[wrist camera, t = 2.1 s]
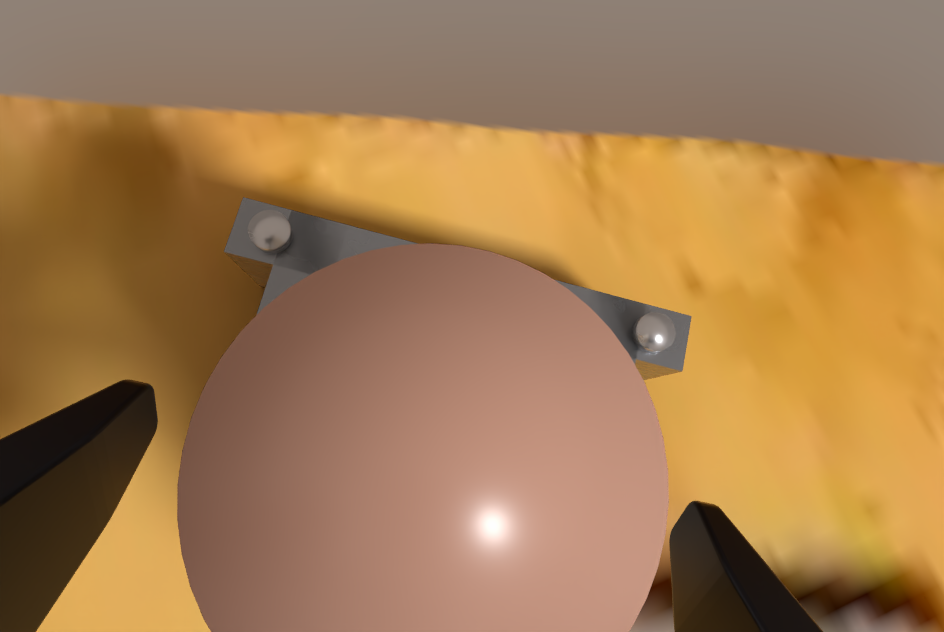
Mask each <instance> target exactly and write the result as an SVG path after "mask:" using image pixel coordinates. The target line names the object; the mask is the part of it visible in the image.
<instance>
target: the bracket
mask: <svg viewBox="0 0 944 632" xmlns="http://www.w3.org/2000/svg"><path fill="white" fill-rule="evenodd" d="M409 244H417V243H414V242H410V241H406V240H402V239H399V238H395V237H391V236H387V235H384V234H380V233H376V232H372V231H368V230H365V229H361V228H357V227H353V226H350V225H346V224H342V223H338V222H335V221H331V220H327V219H323V218H320V217H316V216H312V215H308V214H304V213H301V212H297V211H293V210H289V209H286V208H282V207H278V206H274V205H271V204H267V203H263V202H259V201H255V200H252V199H248V198H244V197H243V200H242V202H241V205H240V208H239V211H238V214H237V216H236V219H235V222H234V225H233V228H232V231H231V233H230V236H229V239H228V242H227V245H226V247H225V250H224V252H225V253H226V254H227V255H228V256H229V257H230V258H231V259H232V260H233V261H234V262H235V263H236V264H237V265H238V266H240V267H241V268H242V269H243V270H244V271H245V272H246V273H247V274H248V275H249V276H250V277H251V278H252V279H253V280H254V281H255V282H256V283H258V284H259V285H260V286H261V287H265V291H264V294H263V297H262V300H261V303H260V306H259V309H258V312H257V314H258V313H259V312H260V311H261V310H262V309H263V308H264V307H265V306H267V305H268V304H269V303H270V302H272V301H273V300H274V299H275V298H277V297H278V296H279V295H280V294H282V293H283V292H284V291H285V290H287V289H288V288H289V287H291V286H293V285H294V284H296V283H298V282H299V281H301V280H302V279H304V278H306V277H307V276H309V275H311V274H312V273H314V272H316V271H318V270H320V269H322V268H325V267H327V266H329V265H331V264H333V263H336V262H338V261H340V260H342V259H345V258H348V257H352V256H355V255H358V254H361V253H364V252H368V251H371V250H376V249H381V248H387V247H392V246H398V245H409ZM555 281H556V282H558V283H560V284H561V285H563V286H564V287H566V288H567V289H569V290H570V291H571V292H572V293H573V294H575V295H576V296H577V297H578V298H579V299H581V300H582V301H583V302H584V303H585V304H587V305H588V306H589V307H590V308H591V309H592V310H593V311H594V312H595V313H596V314H597V315H598V316H599V317H600V318H601V319H602V320H603V321H604V323H605V324H606V325H607V326H608V327H609V328H610V329H611V330H612V331H613V333H614V334H615V336H616V337H617V338H618V340H619V341H620V342H621V344H622V345H623V347H624V348H625V349H626V351H627V352H628V353H629V355H630V357H631V359H632V360H633V362H634V364H635V366H636V368H637V369H638V371H639V373H640V375H641V377H642V378H643V380H647V379H651V378H655V377H660V376H664V375H669V374H673V373H677V372H682V370H683V364H684V358H685V352H686V346H687V340H688V334H689V328H690V322H691V316H689V315H685V314H681V313H677V312H674V311H670V310H666V309H662V308H658V307H655V306H651V305H647V304H643V303H640V302H636V301H632V300H628V299H625V298H621V297H617V296H613V295H610V294H606V293H602V292H598V291H594V290H591V289H587V288H583V287H579V286H576V285H572V284H568V283H564V282H561V281H557V280H555Z"/></svg>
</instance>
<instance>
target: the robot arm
mask: <svg viewBox="0 0 944 632" xmlns="http://www.w3.org/2000/svg"><path fill="white" fill-rule="evenodd" d="M157 422H158V419H157V411H156V402H155V394H154V389H153V387H152V386H151V385H149V384H147V383H143V382H138V381H133V380H122V381H119V382H117V383H115V384H113V385H111V386H109V387H107V388H105V389H103V390H101V391H99V392H97V393H95V394H93V395H90V396H88V397H86V398H84V399H82V400H80V401H78V402H76V403H74V404H72V405H70V406H68V407H66V408H64V409H62V410H60V411H58V412H56V413H53V414H51V415H49V416H47V417H45V418H43V419H41V420H39V421H37V422H35V423H33V424H31V425H29V426H27V427H25V428H23V429H21V430H19V431H16V432H14V433H12V434H10V435H8V436H6V437H4V438H2V439H0V632H36V631H37V629H38V628H39V626H40V625H41V623H42V622H43V620H44V619H45V617H46V616H47V614H48V613H49V611H50V610H51V608H52V607H53V605H54V604H55V602H56V601H57V599H58V598H59V596H60V595H61V593H62V592H63V590H64V589H65V587H66V586H67V584H68V583H69V581H70V580H71V578H72V577H73V575H74V574H75V572H76V571H77V569H78V568H79V566H80V565H81V563H82V562H83V560H84V559H85V557H86V555H87V554H88V552H89V551H90V549H91V548H92V546H93V545H94V543H95V542H96V540H97V539H98V537H99V536H100V534H101V533H102V531H103V530H104V528H105V527H106V525H107V523H108V522H109V520H110V518H111V517H112V515H113V513H114V511H115V509H116V508H117V506H118V504H119V502H120V500H121V498H122V496H123V494H124V492H125V490H126V488H127V486H128V485H129V483H130V481H131V479H132V477H133V475H134V473H135V471H136V469H137V467H138V465H139V463H140V461H141V459H142V458H143V456H144V454H145V452H146V450H147V448H148V446H149V444H150V442H151V440H152V438H153V436H154V434H155V431H156V428H157ZM670 561H671V580H672V598H673V617H674V629H675V632H823V631H822V630H821V628H820V627H819V626H818V625H817V624H816V622H815V621H814V620H813V619H812V618H811V616H810V615H809V614H808V613H807V612H806V610H805V609H804V608H803V607H802V606H801V604H800V603H799V602H798V601H797V600H796V598H795V597H794V596H793V595H792V594H791V592H790V591H789V590H788V589H787V588H786V586H785V585H784V584H783V583H782V582H781V580H780V579H779V578H778V577H777V576H776V574H775V573H774V572H773V571H772V570H771V569H770V567H769V566H768V565H767V564H766V563H765V561H764V560H763V559H762V558H761V557H760V555H759V554H758V553H757V552H756V551H755V549H754V548H753V547H752V546H751V545H750V543H749V542H748V541H747V540H746V539H745V537H744V536H743V535H742V534H741V533H740V531H739V530H738V529H737V528H736V527H735V525H734V524H733V523H732V522H731V521H730V519H729V518H728V517H727V516H726V515H725V513H724V512H723V511H722V510H721V509H720V508H719V507H718V506H716V505H714V504H710V503H705V502H700V501H692V502H691V503H689V505H688V506H687V507H686V509H685V510H684V512H683V513H682V515H681V516H680V518H679V519H678V521H677V522H676V524H675V525H674V527H673V529H672V531H671V535H670Z"/></svg>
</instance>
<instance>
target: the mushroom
mask: <svg viewBox="0 0 944 632" xmlns="http://www.w3.org/2000/svg"><path fill="white" fill-rule="evenodd" d="M668 503H669V498H668V468H667V461H666V454H665V447H664V440H663V436H662V432H661V428H660V425H659V421H658V417H657V414H656V410H655V407H654V405H653V402H652V400H651V397H650V395H649V392H648V390H647V388H646V385H645V383H644V380H643V378H642V377H641V375H640V373H639V371H638V369H637V368H636V366H635V364H634V362H633V360H632V359H631V357H630V355H629V353H628V352H627V351H626V349H625V348H624V347H623V345H622V344H621V342H620V341H619V340H618V338H617V337H616V336H615V334H614V333H613V331H612V330H611V329H610V328H609V327H608V326H607V325H606V324H605V323H604V321H603V320H602V319H601V318H600V317H599V316H598V315H597V314H596V313H595V312H594V311H593V310H592V309H591V308H590V307H589V306H588V305H587V304H585V303H584V302H583V301H582V300H581V299H579V298H578V297H577V296H576V295H575V294H573V293H572V292H571V291H570V290H569V289H567V288H566V287H564V286H563V285H561V284H560V283H558V282H556V281H555V280H553V279H552V278H550V277H549V276H547V275H546V274H544V273H542V272H540V271H538V270H536V269H534V268H532V267H530V266H527V265H525V264H523V263H521V262H519V261H517V260H514V259H511V258H508V257H505V256H502V255H499V254H496V253H493V252H490V251H486V250H481V249H476V248H471V247H466V246H461V245H447V244H433V243H428V244H409V245H398V246H392V247H387V248H381V249H376V250H371V251H368V252H364V253H361V254H358V255H355V256H352V257H348V258H345V259H342V260H340V261H338V262H336V263H333V264H331V265H329V266H327V267H325V268H322V269H320V270H318V271H316V272H314V273H312V274H311V275H309V276H307V277H306V278H304V279H302V280H301V281H299V282H298V283H296V284H294V285H293V286H291V287H289V288H288V289H287V290H285V291H284V292H283V293H282V294H280V295H279V296H278V297H277V298H275V299H274V300H273V301H272V302H270V303H269V304H268V305H267V306H265V307H264V308H263V309H262V310H261V311H260V312H259V313H258V314H257V315H256V316H255V317H254V318H253V319H252V320H251V321H250V322H249V323H248V324H247V325H246V326H245V328H244V329H243V330H242V331H241V332H240V333H239V334H238V336H237V337H236V338H235V340H234V341H233V342H232V344H231V345H230V346H229V348H228V349H227V350H226V352H225V353H224V354H223V356H222V357H221V358H220V360H219V362H218V364H217V365H216V367H215V369H214V371H213V372H212V374H211V376H210V378H209V379H208V381H207V383H206V385H205V386H204V389H203V391H202V393H201V396H200V398H199V401H198V403H197V405H196V408H195V410H194V413H193V415H192V417H191V421H190V425H189V428H188V432H187V436H186V439H185V443H184V447H183V450H182V457H181V464H180V472H179V479H178V509H177V520H178V528H179V536H180V544H181V552H182V557H183V560H184V564H185V568H186V572H187V575H188V579H189V583H190V587H191V590H192V592H193V594H194V597H195V599H196V601H197V604H198V606H199V609H200V611H201V613H202V616H203V618H204V620H205V622H206V624H207V625H208V627H209V629H210V630H211V632H629V631H630V629H631V628H632V626H633V624H634V622H635V620H636V618H637V616H638V614H639V612H640V610H641V608H642V606H643V604H644V602H645V600H646V598H647V596H648V593H649V590H650V588H651V585H652V582H653V579H654V577H655V574H656V571H657V568H658V565H659V560H660V556H661V552H662V547H663V543H664V538H665V533H666V523H667V513H668Z"/></svg>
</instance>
